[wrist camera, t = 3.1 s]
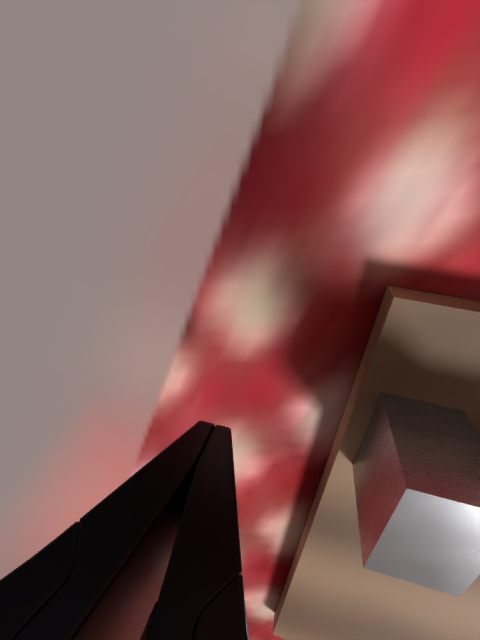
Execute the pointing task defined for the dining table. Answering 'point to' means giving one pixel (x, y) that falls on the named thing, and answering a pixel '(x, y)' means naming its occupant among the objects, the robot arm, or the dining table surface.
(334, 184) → the dining table surface
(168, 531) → the robot arm
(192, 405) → the dining table surface
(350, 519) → the board
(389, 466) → the grey piece
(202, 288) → the dining table surface
